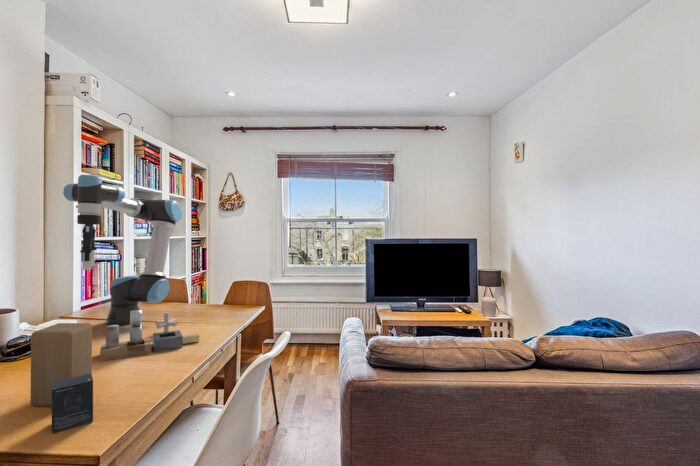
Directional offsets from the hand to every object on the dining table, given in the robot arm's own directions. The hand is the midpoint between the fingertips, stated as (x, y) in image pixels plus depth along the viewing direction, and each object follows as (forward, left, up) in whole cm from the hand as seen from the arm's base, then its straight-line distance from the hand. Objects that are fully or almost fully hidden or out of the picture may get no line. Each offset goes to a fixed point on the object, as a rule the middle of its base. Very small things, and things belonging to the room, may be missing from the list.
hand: (88, 268), depth 137 cm
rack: (+15, +12, -32) cm, 37 cm away
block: (+47, -2, -32) cm, 57 cm away
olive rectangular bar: (+13, +35, -31) cm, 49 cm away
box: (+64, +2, -32) cm, 72 cm away
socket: (+13, +27, -32) cm, 44 cm away
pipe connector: (-4, +28, -32) cm, 43 cm away
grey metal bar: (+15, +16, -32) cm, 39 cm away
